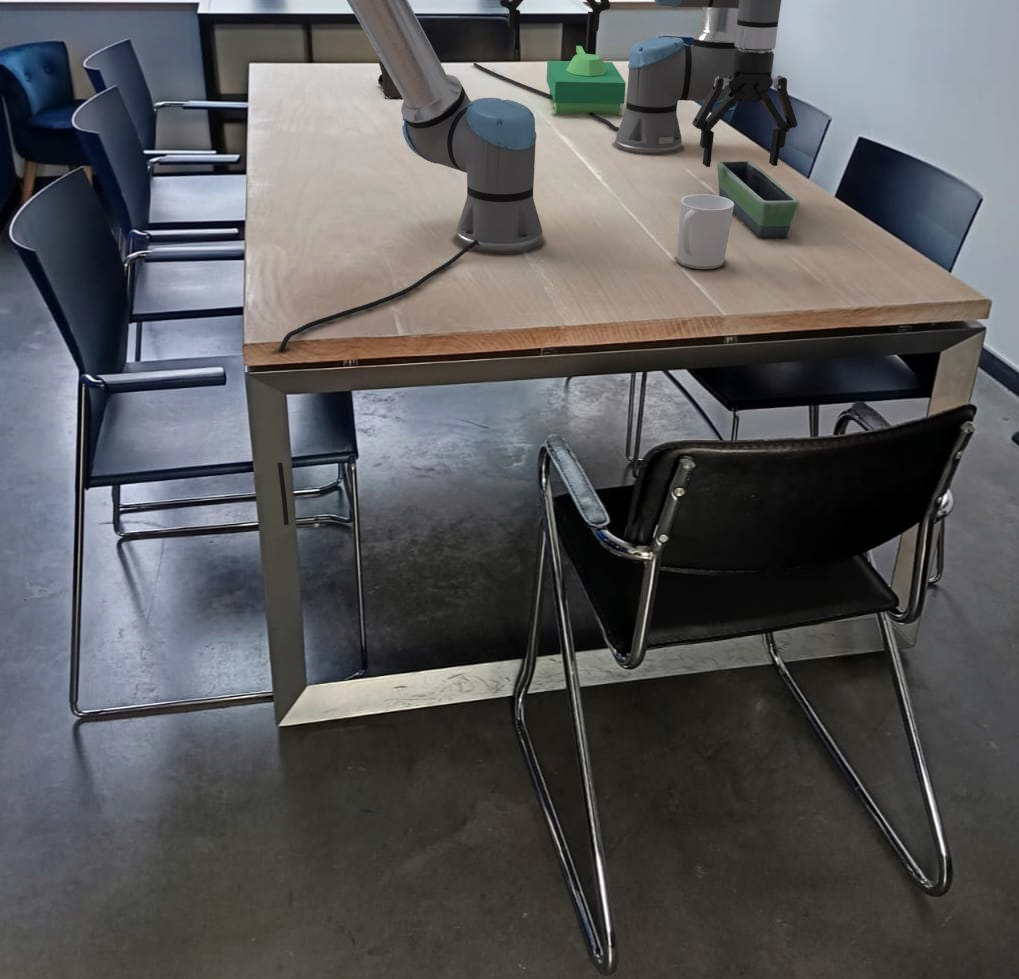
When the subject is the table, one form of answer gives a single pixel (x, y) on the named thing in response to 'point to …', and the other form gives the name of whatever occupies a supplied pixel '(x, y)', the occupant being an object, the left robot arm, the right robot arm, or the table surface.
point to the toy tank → (585, 85)
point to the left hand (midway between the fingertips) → (552, 49)
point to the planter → (757, 198)
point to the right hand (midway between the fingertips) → (739, 165)
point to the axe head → (387, 83)
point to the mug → (703, 230)
